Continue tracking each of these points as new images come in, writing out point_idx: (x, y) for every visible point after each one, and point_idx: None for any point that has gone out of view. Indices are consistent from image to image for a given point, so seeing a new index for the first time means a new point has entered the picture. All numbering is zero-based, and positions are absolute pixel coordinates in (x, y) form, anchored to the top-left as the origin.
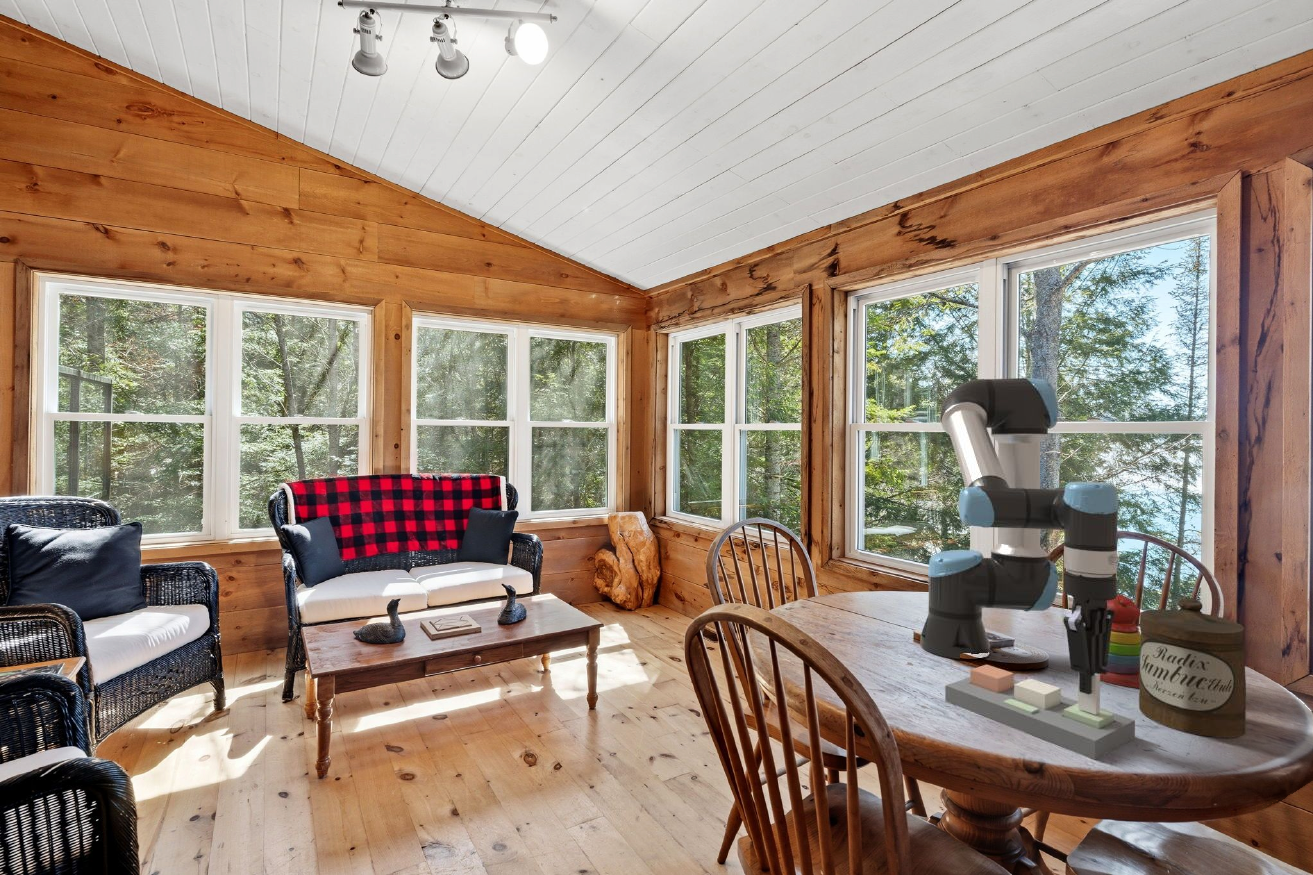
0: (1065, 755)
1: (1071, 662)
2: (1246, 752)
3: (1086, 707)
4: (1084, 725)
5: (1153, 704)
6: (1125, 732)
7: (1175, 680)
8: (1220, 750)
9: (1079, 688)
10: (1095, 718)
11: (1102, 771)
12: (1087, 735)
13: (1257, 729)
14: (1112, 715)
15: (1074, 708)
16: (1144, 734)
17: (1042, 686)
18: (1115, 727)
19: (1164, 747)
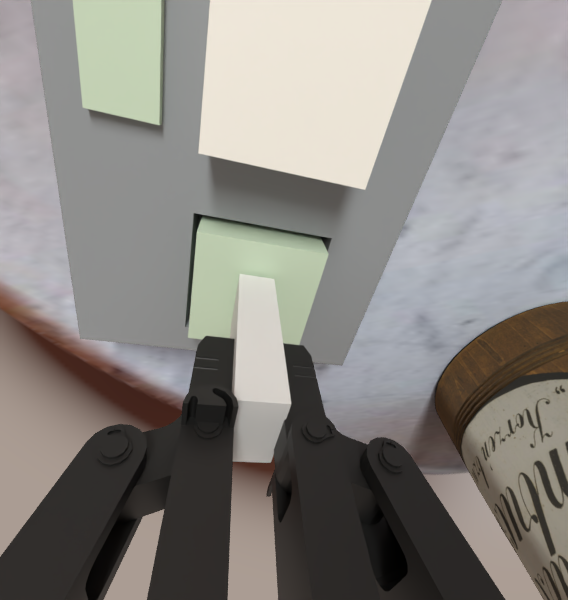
0: (45, 247)
1: (50, 497)
2: None
3: (234, 308)
4: (176, 291)
5: (503, 366)
6: None
7: (521, 488)
8: (376, 425)
9: (198, 347)
10: (207, 325)
11: (53, 329)
12: (98, 316)
13: None
14: None
15: (244, 258)
16: (370, 340)
17: (327, 99)
18: None
19: (319, 375)
